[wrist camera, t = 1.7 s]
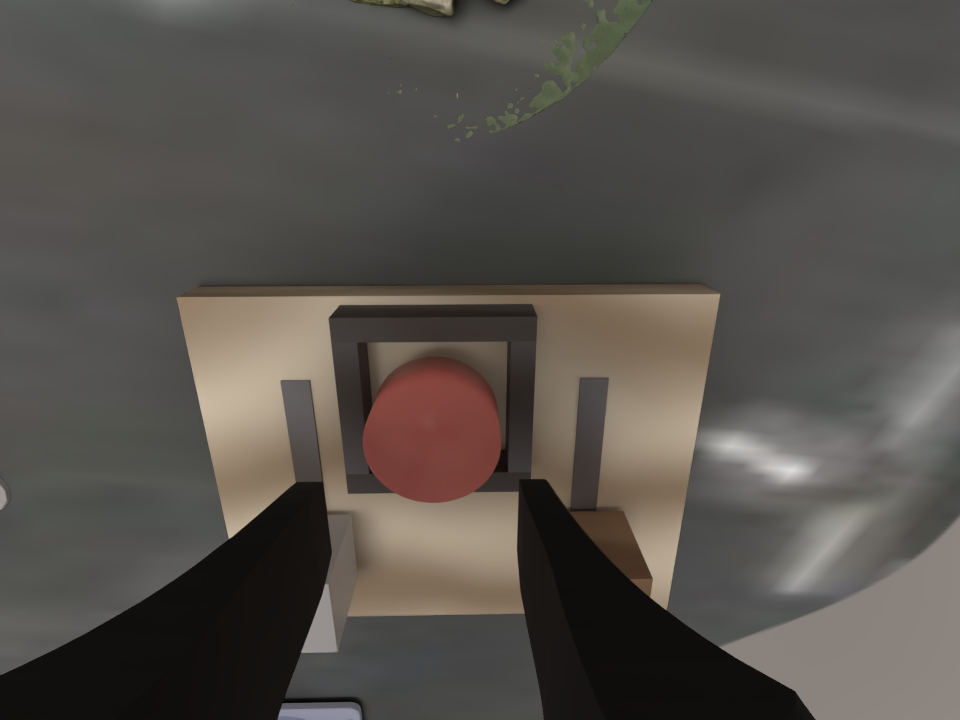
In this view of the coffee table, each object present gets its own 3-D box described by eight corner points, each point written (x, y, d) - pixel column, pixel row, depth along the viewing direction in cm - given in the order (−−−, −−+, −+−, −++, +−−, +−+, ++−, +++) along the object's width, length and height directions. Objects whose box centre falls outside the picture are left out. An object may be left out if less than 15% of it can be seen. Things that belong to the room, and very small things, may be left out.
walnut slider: (616, 571, 21) (642, 646, 18) (542, 572, 21) (555, 647, 18) (623, 510, 20) (652, 579, 17) (546, 512, 20) (560, 580, 17)
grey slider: (357, 575, 21) (337, 651, 18) (283, 576, 21) (249, 653, 18) (351, 514, 20) (328, 584, 17) (272, 515, 20) (234, 585, 17)
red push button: (497, 465, 18) (500, 501, 16) (378, 467, 18) (368, 503, 16) (498, 355, 16) (502, 381, 14) (369, 356, 16) (357, 382, 14)
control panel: (654, 584, 24) (679, 641, 21) (259, 590, 24) (231, 649, 21) (701, 283, 19) (742, 306, 16) (198, 286, 19) (150, 309, 16)
